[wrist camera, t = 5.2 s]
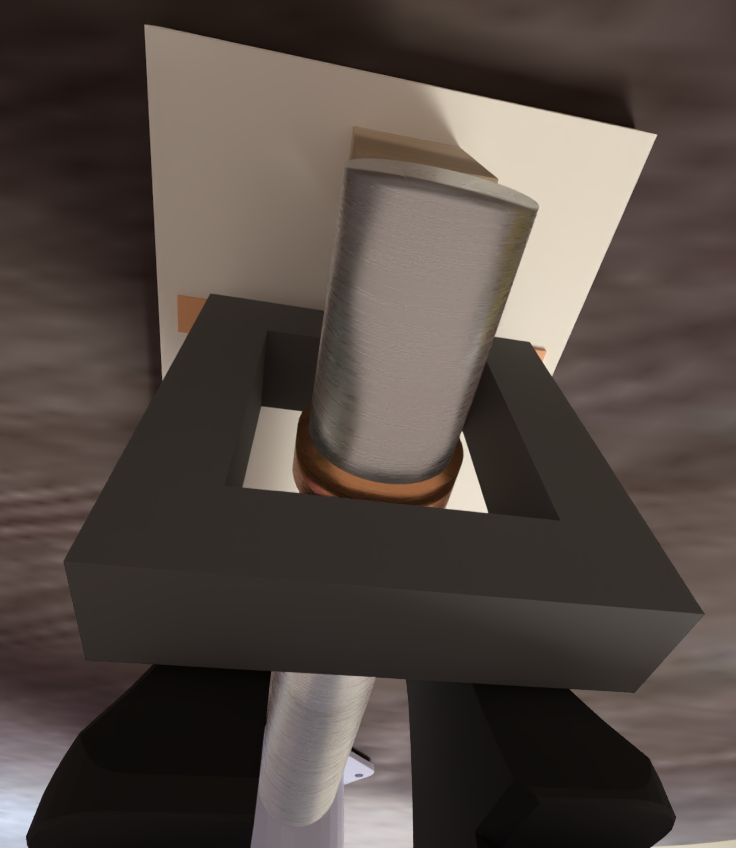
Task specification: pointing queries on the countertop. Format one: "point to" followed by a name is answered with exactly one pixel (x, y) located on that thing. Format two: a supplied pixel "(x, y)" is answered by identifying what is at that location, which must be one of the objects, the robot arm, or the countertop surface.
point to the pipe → (389, 403)
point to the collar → (369, 537)
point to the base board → (321, 190)
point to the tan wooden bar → (414, 152)
